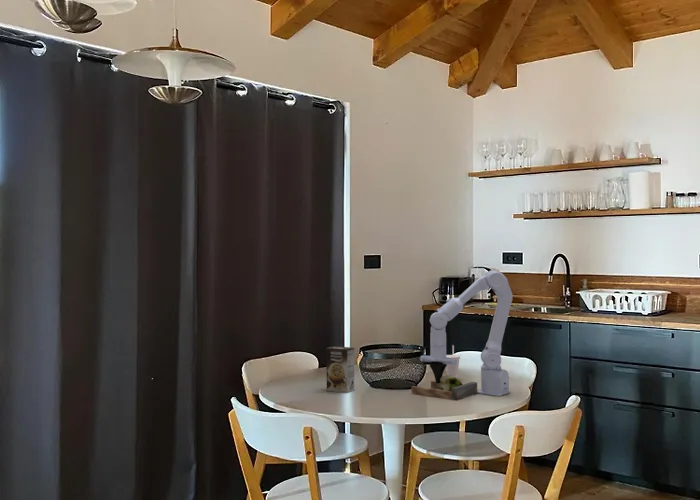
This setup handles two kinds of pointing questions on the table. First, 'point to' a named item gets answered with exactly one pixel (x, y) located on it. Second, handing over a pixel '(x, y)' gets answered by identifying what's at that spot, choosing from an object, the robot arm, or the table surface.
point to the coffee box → (340, 369)
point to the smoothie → (453, 369)
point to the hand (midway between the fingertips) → (438, 382)
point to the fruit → (449, 382)
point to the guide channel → (455, 394)
